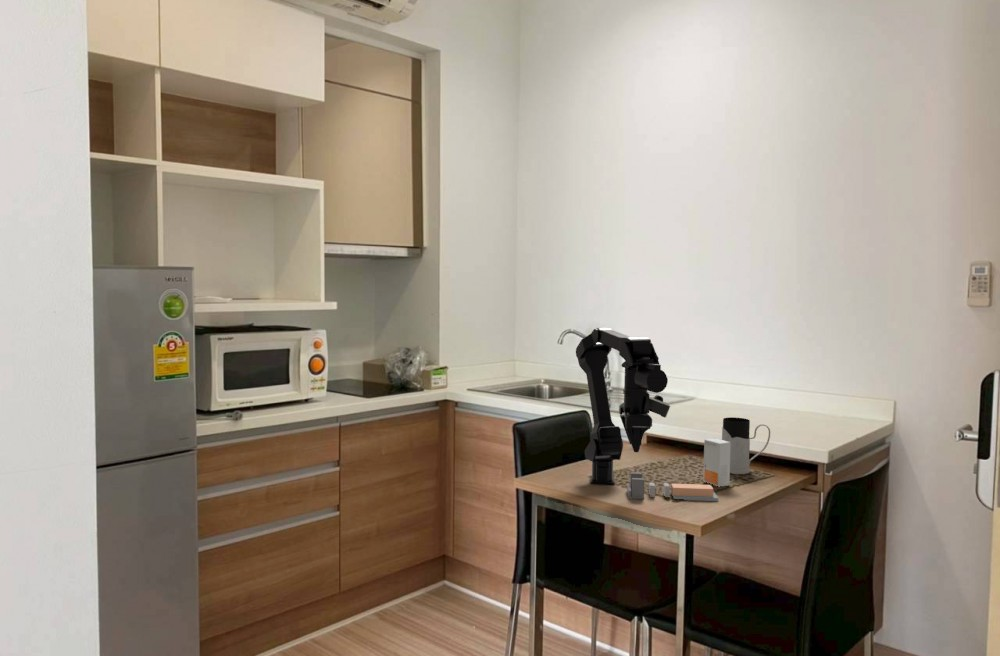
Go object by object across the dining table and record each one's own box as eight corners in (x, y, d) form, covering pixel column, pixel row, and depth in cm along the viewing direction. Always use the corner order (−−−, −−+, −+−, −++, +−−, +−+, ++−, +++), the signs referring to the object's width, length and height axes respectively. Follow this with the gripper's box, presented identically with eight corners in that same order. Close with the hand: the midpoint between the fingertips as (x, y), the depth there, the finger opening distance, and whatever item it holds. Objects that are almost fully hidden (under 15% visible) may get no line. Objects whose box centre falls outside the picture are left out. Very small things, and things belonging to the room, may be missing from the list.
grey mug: (716, 466, 234) (717, 416, 233) (764, 467, 233) (766, 417, 232) (723, 473, 225) (724, 422, 224) (773, 474, 224) (774, 423, 223)
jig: (627, 490, 205) (627, 472, 204) (667, 492, 204) (667, 473, 203) (628, 498, 198) (629, 479, 197) (670, 500, 197) (670, 480, 196)
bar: (671, 491, 202) (671, 483, 202) (710, 492, 201) (710, 484, 201) (673, 495, 198) (673, 487, 198) (713, 496, 197) (713, 489, 197)
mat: (671, 493, 203) (671, 490, 203) (714, 494, 202) (714, 491, 202) (673, 499, 197) (673, 496, 197) (718, 501, 196) (718, 498, 196)
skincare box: (702, 482, 215) (703, 439, 214) (713, 480, 217) (715, 437, 216) (718, 487, 209) (719, 443, 209) (730, 485, 212) (731, 441, 211)
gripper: (674, 393, 187) (672, 457, 188) (662, 382, 205) (660, 440, 206) (627, 392, 187) (625, 456, 188) (619, 381, 206) (618, 439, 207)
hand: (634, 448), depth 198 cm, fingers open, 9 cm apart
